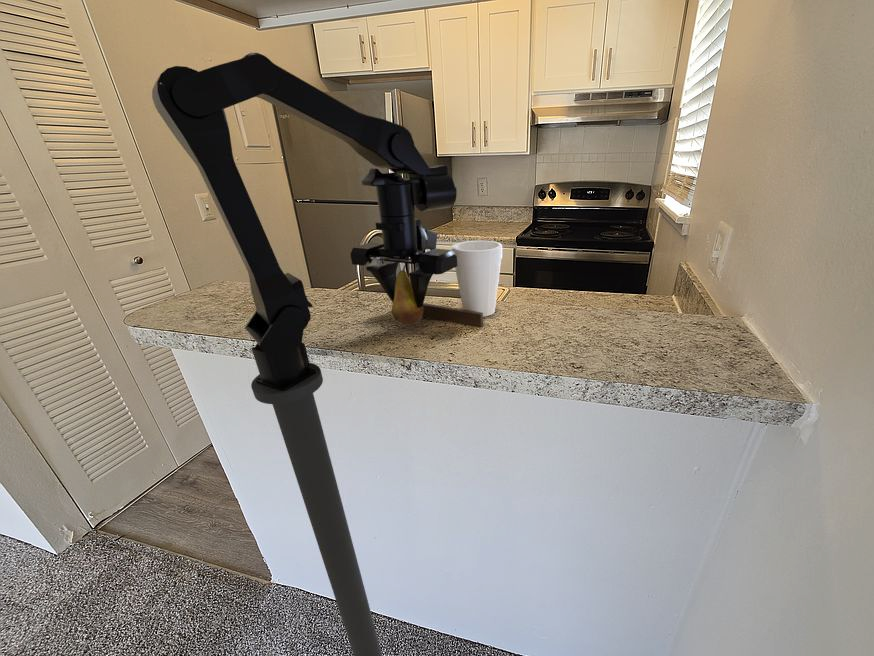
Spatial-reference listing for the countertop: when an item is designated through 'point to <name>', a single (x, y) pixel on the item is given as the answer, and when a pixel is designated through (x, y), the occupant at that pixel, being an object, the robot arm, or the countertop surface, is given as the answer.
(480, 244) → the foam cup
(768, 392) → the countertop surface
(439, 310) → the rail
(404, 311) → the fruit
